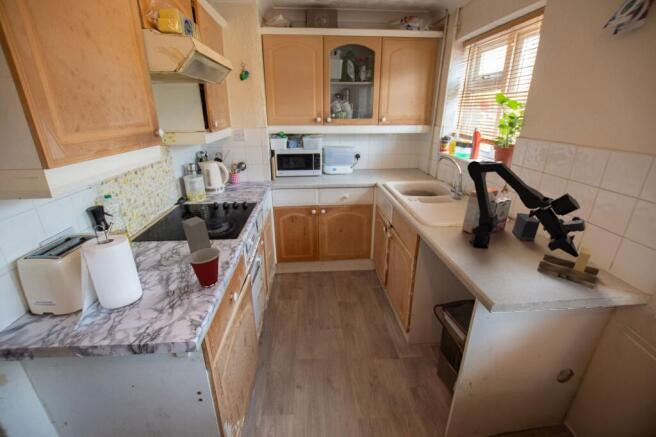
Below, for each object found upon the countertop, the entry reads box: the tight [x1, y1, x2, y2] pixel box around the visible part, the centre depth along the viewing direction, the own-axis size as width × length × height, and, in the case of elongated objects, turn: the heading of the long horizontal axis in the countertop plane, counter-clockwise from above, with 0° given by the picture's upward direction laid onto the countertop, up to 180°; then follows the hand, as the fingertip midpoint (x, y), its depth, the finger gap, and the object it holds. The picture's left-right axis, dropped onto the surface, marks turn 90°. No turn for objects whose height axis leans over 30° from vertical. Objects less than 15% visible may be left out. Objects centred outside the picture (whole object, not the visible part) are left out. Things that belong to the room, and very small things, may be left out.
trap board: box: [536, 252, 600, 289], centre depth 112 cm, size 17×11×4 cm, turn 45°
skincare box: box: [181, 216, 212, 254], centre depth 122 cm, size 8×7×16 cm
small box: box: [511, 212, 541, 243], centre depth 140 cm, size 11×6×10 cm, turn 168°
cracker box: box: [461, 187, 499, 234], centre depth 145 cm, size 14×6×21 cm, turn 118°
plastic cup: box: [186, 247, 221, 287], centre depth 103 cm, size 11×11×12 cm
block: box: [573, 246, 593, 273], centre depth 108 cm, size 3×6×9 cm, turn 135°
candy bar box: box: [489, 196, 513, 234], centre depth 146 cm, size 11×5×16 cm, turn 116°
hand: (577, 256), depth 109 cm, fingers closed, pressing on block
